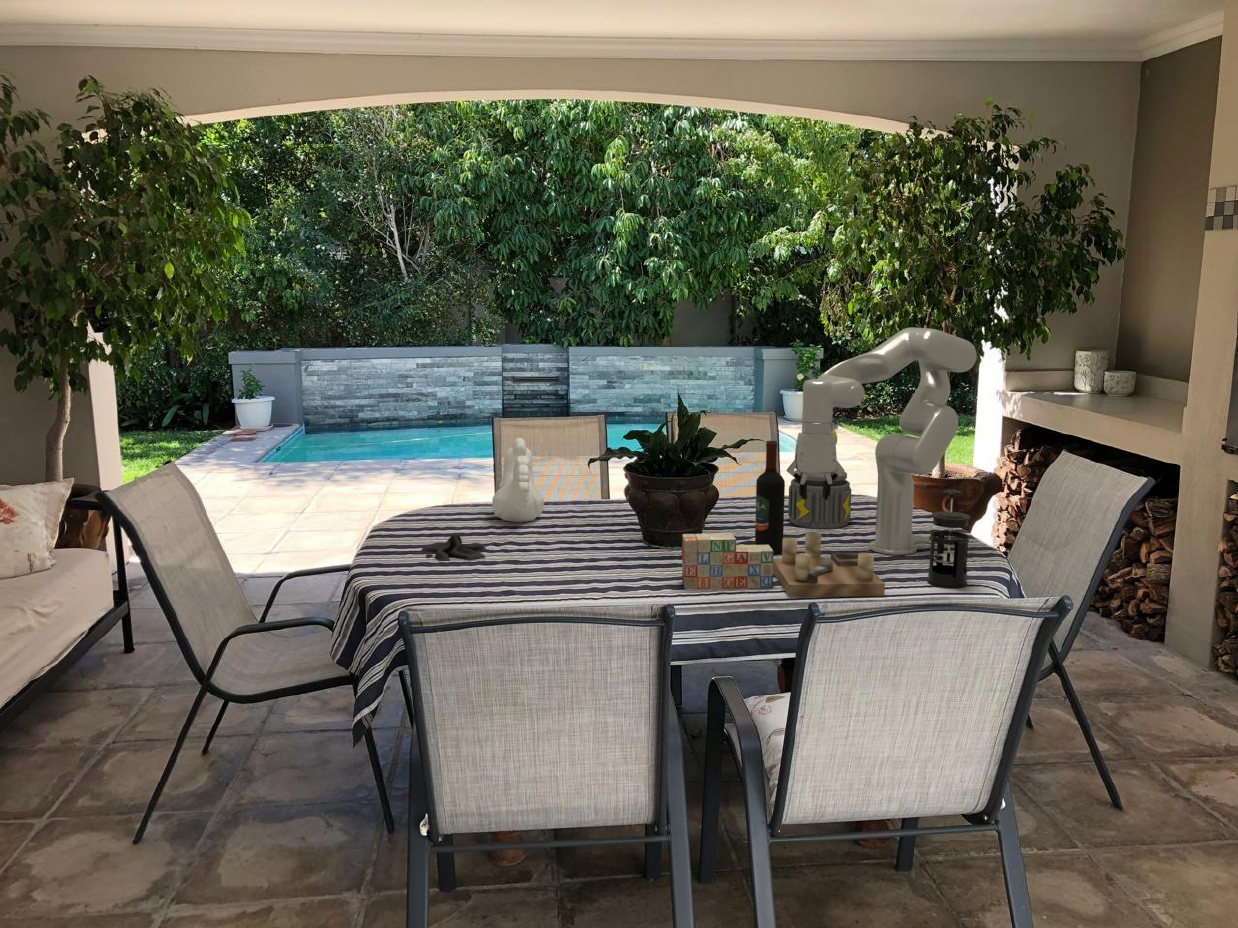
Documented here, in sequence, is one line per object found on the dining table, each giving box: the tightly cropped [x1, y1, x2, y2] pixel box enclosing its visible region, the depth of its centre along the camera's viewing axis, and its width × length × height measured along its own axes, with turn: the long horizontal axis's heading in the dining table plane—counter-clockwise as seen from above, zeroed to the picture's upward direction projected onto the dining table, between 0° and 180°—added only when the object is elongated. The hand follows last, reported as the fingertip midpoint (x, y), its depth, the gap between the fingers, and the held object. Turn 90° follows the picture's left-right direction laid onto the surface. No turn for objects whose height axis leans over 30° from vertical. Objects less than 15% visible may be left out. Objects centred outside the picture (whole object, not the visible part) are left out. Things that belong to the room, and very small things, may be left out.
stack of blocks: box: [681, 532, 774, 590], centre depth 255 cm, size 21×6×12 cm, turn 92°
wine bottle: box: [754, 440, 786, 555], centre depth 284 cm, size 8×8×30 cm
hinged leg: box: [795, 552, 833, 581], centre depth 253 cm, size 14×4×6 cm, turn 138°
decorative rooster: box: [491, 437, 545, 523], centre depth 317 cm, size 25×16×25 cm, turn 179°
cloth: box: [420, 532, 487, 562], centre depth 283 cm, size 22×19×6 cm
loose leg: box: [804, 531, 822, 558], centre depth 274 cm, size 4×4×8 cm
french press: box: [926, 489, 971, 590], centre depth 255 cm, size 12×9×23 cm
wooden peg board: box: [773, 537, 886, 598], centre depth 257 cm, size 22×22×9 cm
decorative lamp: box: [787, 429, 852, 530], centre depth 317 cm, size 19×19×30 cm
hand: (814, 497), depth 271 cm, fingers open, 4 cm apart
